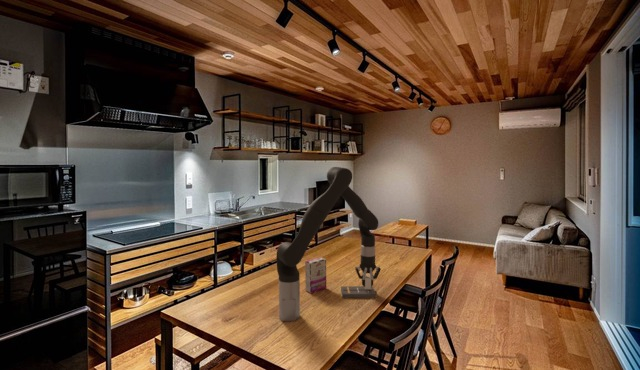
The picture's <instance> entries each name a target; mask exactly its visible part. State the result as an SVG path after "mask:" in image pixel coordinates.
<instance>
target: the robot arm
mask: <svg viewBox="0 0 640 370" xmlns="http://www.w3.org/2000/svg"><path fill="white" fill-rule="evenodd" d="M326 173H327V174H326V179H327V182H328V184H329V187H328V189H327V190H326V191H325V192H324V193H322V194H321V195H320V196H318V197H317V198H315V200H313V201H312V202H311V203H310V205H309V206H308V208H307V209H306V211H305V213H304V214H303V216H302V219H301V223H300V227H299V231H298V233H297V235H296V236H295V238H294V239H293V241H292V242H290V241H285V242H282V243H281V244H279V246H278V248H277V250H276V271H277V276H278V317H279V319H280V320H281V322H296V321H297V320H298V319H299V318H300V315H301V314H300V313H301V308H300V307H301V306H300V304H301V303H300V297H301V296H300V291H301V290H300V289H301V288H300V284H301V283H300V282H301V281H300V271H299V269H298V267H297V265H299V263H301V261H302V259H303V258H304V255H305V254H306V252H307V250H308V247H309V246H310V244H311V241H312V240H313V239H314V237H315V236H316V234H317V233H318V231H319V229H320V228H321V226H322V225H323V223H324V222H325V220H326V219H327V217H328V215H329V213H330V212H331V210H332V209H333V208H334V206H335V204H336V203H337V201H338V200H339V199H340V198H341V197H342V199H343V200H344V201H345V203H346V204H347V205H348V207H349V208H350V210H351V211H352V213H353V214H354V215H355V217H356V218H358V219H359V220H358V223H357V225H358V229H359V234H360V237H361V239H360V241H361V244H360V251H359V253H360V262H359V263H360V264H359V266H355V267H354V269H355V273H356V275H357V277H358V279H361V285H362V286H364V287H365V276H366V275H368V274H369V275H370V277H371V287H372V286H374V280H375V279H378V277H379V274H380V272H381V270H382V268H381V267H380V266H378V265H376V237H375V235H374V234H373V233H372V232H371V231H375V230H377V229H378V227H379V220H378V217H377V216H376V215H375V214H374V213H373V212H372V211H371V210H370V209H368V207H367V206H366V203H365V202H364V201H363V199H362V198H361V197H360V196H359V195H358V194H357V193H356V192H355V191H354V190H353V189H352V188H351V187H350V184H351V183H352V179H353V173H352V171H351V169H349V168H345V167H339V166H333V167H331V168H329V169H328V171H327V172H326ZM360 270H361V271H362V274H361V273H360ZM374 271H375V272H374ZM373 273H374V274H373Z"/></svg>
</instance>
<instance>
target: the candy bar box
mask: <svg viewBox="0 0 640 370" xmlns="http://www.w3.org/2000/svg"><path fill="white" fill-rule="evenodd" d="M304 271H305V272H304V276H305V278H304V279H305V291H306V292H307V293H309V294H313V293H316V292H319V291H322V290H324V289H327V259H326V258H324V257H322V256H321V257H320V256H319V257H317V258H313V259H309V260H305V261H304Z"/></svg>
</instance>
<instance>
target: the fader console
mask: <svg viewBox="0 0 640 370" xmlns="http://www.w3.org/2000/svg"><path fill="white" fill-rule="evenodd" d="M373 286H374V285H373ZM373 286H372V287H371V289H369V290H366V289H365V288H364V286H363V285H362V286H361V285H360V286H359V285H358V286H357V285H356V286H355V285H353V286H352V285H351V286H348V285H347V286H345V285H343V286H340V292H341V293H340V294H341V297H342V299H361V298H362V299H363V298H364V299H370V298H371V299H372V298H373V299H374V298H375V299H376V297H377V293H376V291H375V288H374V287H373Z"/></svg>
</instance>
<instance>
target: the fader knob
mask: <svg viewBox="0 0 640 370" xmlns="http://www.w3.org/2000/svg"><path fill="white" fill-rule="evenodd" d="M364 288H365V289H366V290H369V289H371V277H370V274H369V275H368V274H366V276H365V287H364Z"/></svg>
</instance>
